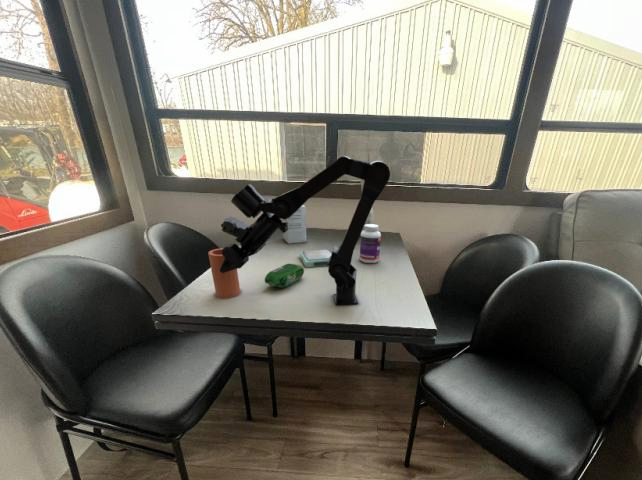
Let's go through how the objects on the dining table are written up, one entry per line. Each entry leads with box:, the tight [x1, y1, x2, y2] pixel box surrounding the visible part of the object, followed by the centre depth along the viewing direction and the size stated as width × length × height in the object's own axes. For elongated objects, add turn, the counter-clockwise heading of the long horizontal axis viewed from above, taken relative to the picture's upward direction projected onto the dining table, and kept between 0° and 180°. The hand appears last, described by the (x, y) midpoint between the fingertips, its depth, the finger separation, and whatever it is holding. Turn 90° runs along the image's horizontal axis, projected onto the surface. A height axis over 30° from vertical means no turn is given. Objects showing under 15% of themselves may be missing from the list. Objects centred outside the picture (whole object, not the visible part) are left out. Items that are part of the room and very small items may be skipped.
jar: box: [207, 247, 241, 299], centre depth 87 cm, size 7×7×13 cm
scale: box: [299, 249, 332, 268], centre depth 118 cm, size 12×12×3 cm
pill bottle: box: [359, 224, 382, 264], centre depth 118 cm, size 8×8×14 cm
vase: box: [359, 179, 376, 237], centre depth 151 cm, size 9×8×30 cm
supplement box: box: [282, 204, 308, 244], centre depth 139 cm, size 10×9×17 cm
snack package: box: [264, 263, 305, 288], centre depth 97 cm, size 7×16×5 cm, turn 153°
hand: (228, 266), depth 86 cm, fingers open, 9 cm apart
